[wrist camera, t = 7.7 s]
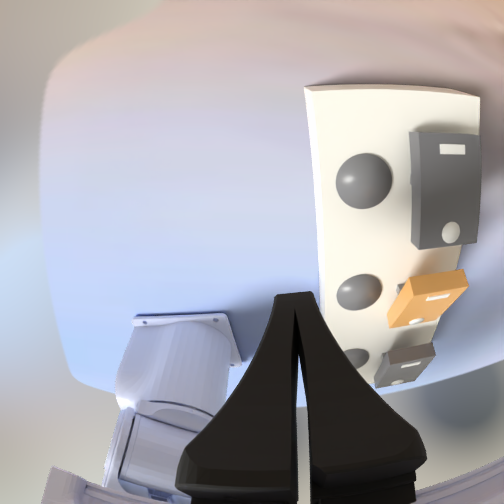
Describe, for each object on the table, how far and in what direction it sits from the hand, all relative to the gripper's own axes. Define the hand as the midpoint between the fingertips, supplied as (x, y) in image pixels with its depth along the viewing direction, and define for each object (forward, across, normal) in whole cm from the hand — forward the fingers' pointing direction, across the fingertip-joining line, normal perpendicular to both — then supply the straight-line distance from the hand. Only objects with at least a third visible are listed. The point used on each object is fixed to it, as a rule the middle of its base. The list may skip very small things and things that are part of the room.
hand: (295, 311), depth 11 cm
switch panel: (+10, -7, +8) cm, 15 cm away
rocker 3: (+5, -9, +14) cm, 17 cm away
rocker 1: (+5, -9, -2) cm, 11 cm away
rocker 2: (+5, -9, +6) cm, 12 cm away
